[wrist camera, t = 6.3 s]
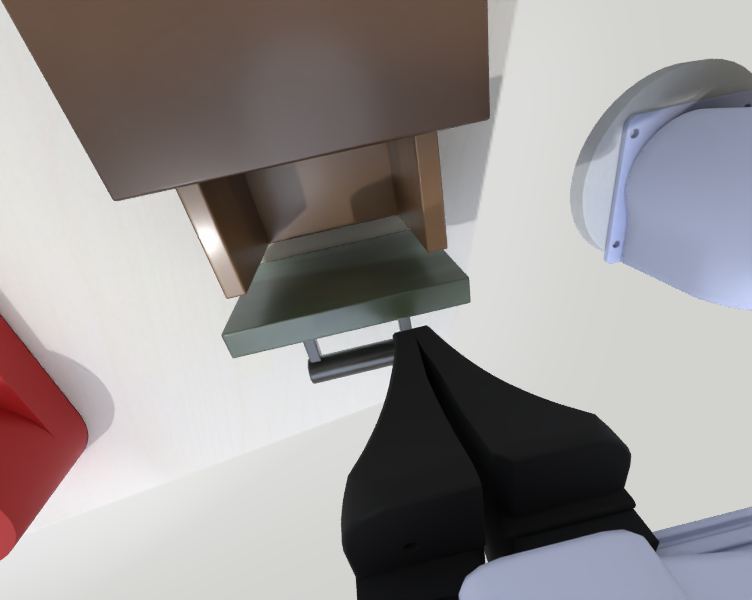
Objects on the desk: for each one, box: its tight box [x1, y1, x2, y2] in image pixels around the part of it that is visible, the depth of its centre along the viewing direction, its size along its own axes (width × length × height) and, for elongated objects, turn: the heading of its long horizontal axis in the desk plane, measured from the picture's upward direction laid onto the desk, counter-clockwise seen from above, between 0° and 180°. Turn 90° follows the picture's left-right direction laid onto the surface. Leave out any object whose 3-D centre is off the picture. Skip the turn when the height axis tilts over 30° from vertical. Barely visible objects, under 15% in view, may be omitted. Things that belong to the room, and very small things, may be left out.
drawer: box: [175, 131, 470, 384], centre depth 15 cm, size 17×10×7 cm, turn 11°
